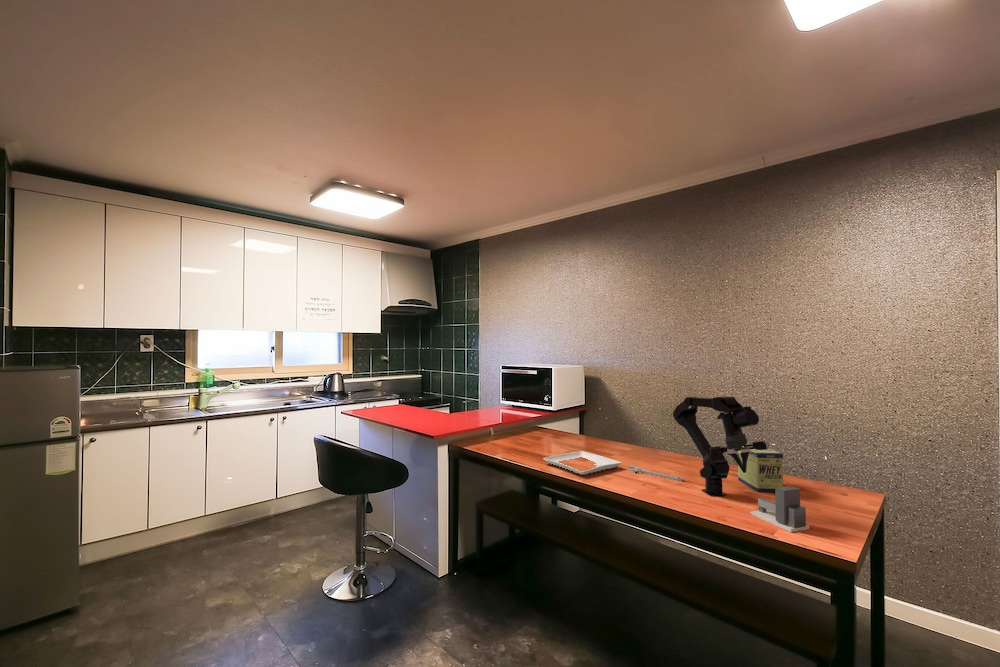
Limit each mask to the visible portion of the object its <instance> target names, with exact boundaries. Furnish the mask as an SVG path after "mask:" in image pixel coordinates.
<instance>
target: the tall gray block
mask: <svg viewBox="0 0 1000 667" xmlns="http://www.w3.org/2000/svg"><path fill="white" fill-rule="evenodd" d="M774 494H775V497H774V498H775V501H774V502H775V503H776V521H778V522H781V523H783V524H787V506H792V505H800V506H801V488H798V487H795V486H793V485H789V486H788V485H787V486H783V487H778V488H775V492H774Z"/></svg>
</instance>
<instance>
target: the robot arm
mask: <svg viewBox="0 0 1000 667" xmlns="http://www.w3.org/2000/svg"><path fill="white" fill-rule="evenodd" d="M698 407H700V408H709V409H712V410H714V411H717V412H719V415H718V416H717V417H716V419H717V420H721V421H722V425H723V430H724V433H725V439H724V443H725V445H726V446H725V447H723V446H721V445H719V446H711V444H710V442H709V441H708V440H707V438H706V436H705V434H703V432H702V430H701V428H700V427H699V426H698V424H697V415H696V414H697V413H698V412H699V411H698V409H699V408H698ZM672 417H673V419H674V420H675V421H676V423H677V424H678V425H679V426H681V427H683V428H684V429H685V430H686V432H687V433H688V435H689V436H690V439H691V440H692V442H693V443H694V445H695V447H696V448H697V450H698V451H699V453H700V455H701V456H702V465H703V467H702V468H701V469H700V470H699V475H700V477H701V478H703V479H705V481H704V482H705V483H704V485H705V486H704V488H702V489H701V491H702V492H703V493H705V494H707V495H708V496H711V497H712V496H715V497H716V496H717V497H720V496H726V495H727V494H726V493H724V492H723V479H728V475H729V472H730V465H729V461H728V460H727V459H726V457H725V455H724V453H727V456H731V457H732V458H733V460H734V461H735V462H736V463H737V466H738V465H739V467H740V468H741V470H742V471H743V473H746V469H747V460H748V456H749V454H752V452H751V451H750V450H751V449H756V450H766V449H770V448H769V445H768V442H766V441H764V440H761V441H753V442H752V444H751V443H750V444H748V438H747V435H746V434H745V433H743V429H742V428H745V427H746V428H747V427H752V426H756V425H758V424H759V421H760V417H759V415H758V414H757V412H756V411H755V410H754V409H752V407H751V405H750V406H749V405H748V406H743V405H741V403H740V402H739V401H737V399H736V397H734V396H716V397H699V396H698V397H697V396H687V397H685V398H684V400H683V401H682V402H681V403H679V404H678V405H677V406H676V407H675V409H674V410H673V412H672ZM742 446H744V447H742ZM738 451H742V453H740V454H741V457H742V461H741V459H740V456H739V453H738ZM742 463H743V464H742Z"/></svg>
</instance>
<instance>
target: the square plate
mask: <svg viewBox="0 0 1000 667" xmlns="http://www.w3.org/2000/svg"><path fill="white" fill-rule="evenodd" d="M579 457H583V458H586V459H588V460H590V461H593V462H595V463H596V464H594V465H597V466H596V467H595V468H592V469H589V470H586V471H579V470H577V469H574V468H572V467H570V466H567V465H564V464H562V463H559V461H563V460H569V459H575V458H579ZM542 459H543V460H544V461H545V462H546V463H548V464H549V463H550V464H549V465H552V464H553V465H552V466H555V465H556V466H555V467H557V466H559V467H558V468H560V467H562V468H561V469H563V468H565V469H564V470H566V469H568V470H570V471H569V472H571V471H573V472H572V473H574V472H575V474H577V473H578V474H579V475H590V474H589V473H591V474H594V473H593V472H595V473H598V472H597V471H599V472H602V471H601V470H604V471H606V470H605V469H608V470H610V469H613V468H617V467H619V466H621V464H622V462H623V461H618V460H617V459H613V458H609V457H606V456H602V455H599V454H597V453H596V454H595V453H592V452H588V451H583V450H579V451H574V452H566V453H560V454H556V455H550V456H546V457H543V458H542ZM568 470H567V471H568ZM578 474H577V475H578Z"/></svg>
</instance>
